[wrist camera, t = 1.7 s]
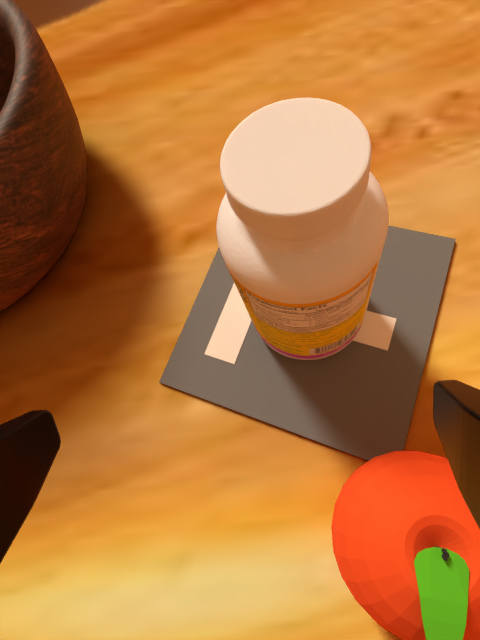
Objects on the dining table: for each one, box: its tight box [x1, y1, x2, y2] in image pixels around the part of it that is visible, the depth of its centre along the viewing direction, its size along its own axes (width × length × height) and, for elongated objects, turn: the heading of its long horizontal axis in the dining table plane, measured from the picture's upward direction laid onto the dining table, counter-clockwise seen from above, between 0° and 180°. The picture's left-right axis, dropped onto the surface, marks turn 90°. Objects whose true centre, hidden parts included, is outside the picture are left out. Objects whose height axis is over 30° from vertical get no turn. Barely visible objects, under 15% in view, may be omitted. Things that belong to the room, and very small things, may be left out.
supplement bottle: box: [217, 98, 389, 360], centre depth 18 cm, size 7×7×13 cm
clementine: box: [331, 451, 480, 640], centre depth 16 cm, size 8×7×7 cm
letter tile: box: [160, 226, 455, 461], centre depth 24 cm, size 14×14×1 cm
